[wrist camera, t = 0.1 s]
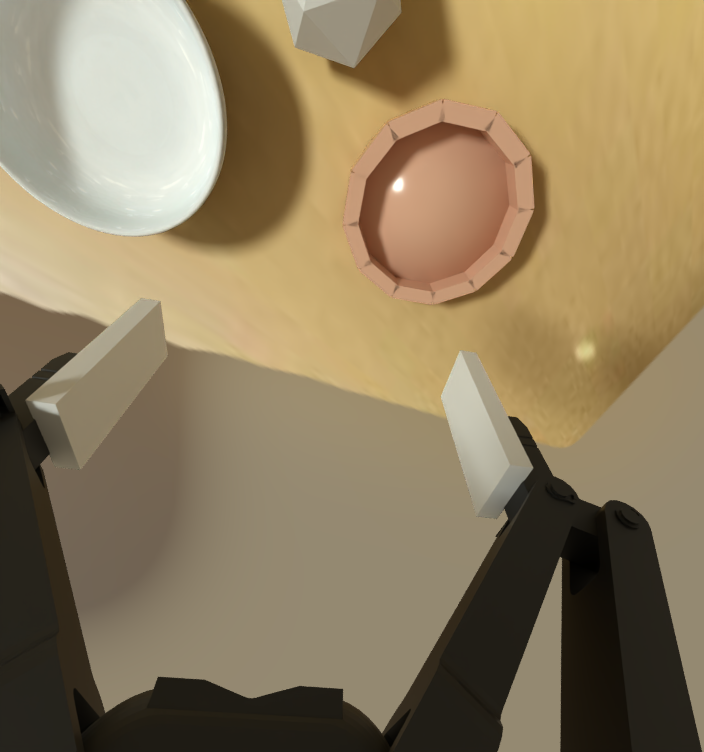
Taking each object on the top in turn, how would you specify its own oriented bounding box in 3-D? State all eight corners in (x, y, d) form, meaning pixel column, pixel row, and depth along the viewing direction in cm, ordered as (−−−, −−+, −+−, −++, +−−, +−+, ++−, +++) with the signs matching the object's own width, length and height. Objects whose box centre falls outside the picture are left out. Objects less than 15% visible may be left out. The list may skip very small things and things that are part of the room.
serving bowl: (69, -171, 25) (-13, -253, 19) (290, 116, 34) (278, 118, 29) (-40, 81, 33) (-121, 75, 27) (163, 259, 42) (134, 282, 37)
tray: (364, 82, 33) (365, 80, 30) (552, 126, 35) (570, 128, 32) (334, 275, 43) (332, 287, 40) (479, 301, 45) (488, 314, 42)
